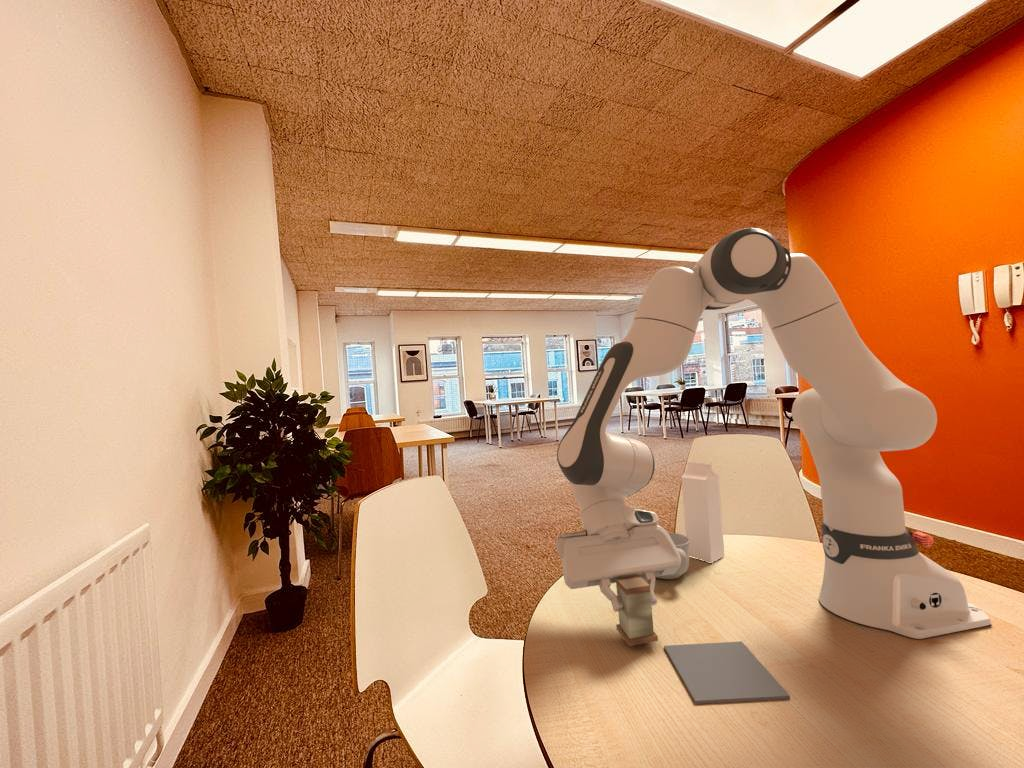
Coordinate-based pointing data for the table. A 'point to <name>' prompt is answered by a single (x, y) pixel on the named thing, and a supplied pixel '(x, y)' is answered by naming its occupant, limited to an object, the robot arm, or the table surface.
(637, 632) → the banded square pillar
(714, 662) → the mat
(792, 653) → the table surface
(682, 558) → the teacup
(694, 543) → the milk
